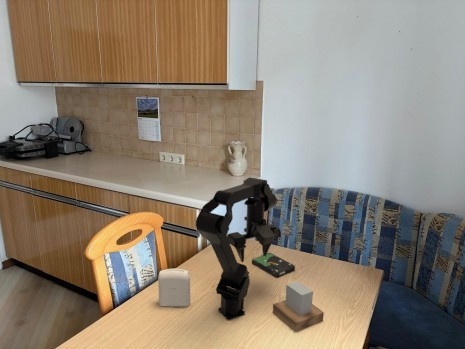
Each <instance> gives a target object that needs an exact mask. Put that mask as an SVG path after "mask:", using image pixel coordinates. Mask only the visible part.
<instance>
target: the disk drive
mask: <svg viewBox="0 0 465 349" xmlns="http://www.w3.org/2000/svg"><path fill="white" fill-rule="evenodd" d="M251 265H254V267H257V268H259V269H260V270H262V271H264V272H265V273H268V274H269V275H270V276H272V277H274V278H276V279H278V278H280V277H283V276H286V275H288V274H290V273H293V272H295V271H296V265H295V264H293V263H290V262H289V261H287V260H285V259H283V258H281V257H280V256H277V255H275V253H274V254H273V253H272V252H270V251H268V252H267V255H266V256H263V254H261V255H259V256H257V257H253V258H252V260H251Z"/></svg>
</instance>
